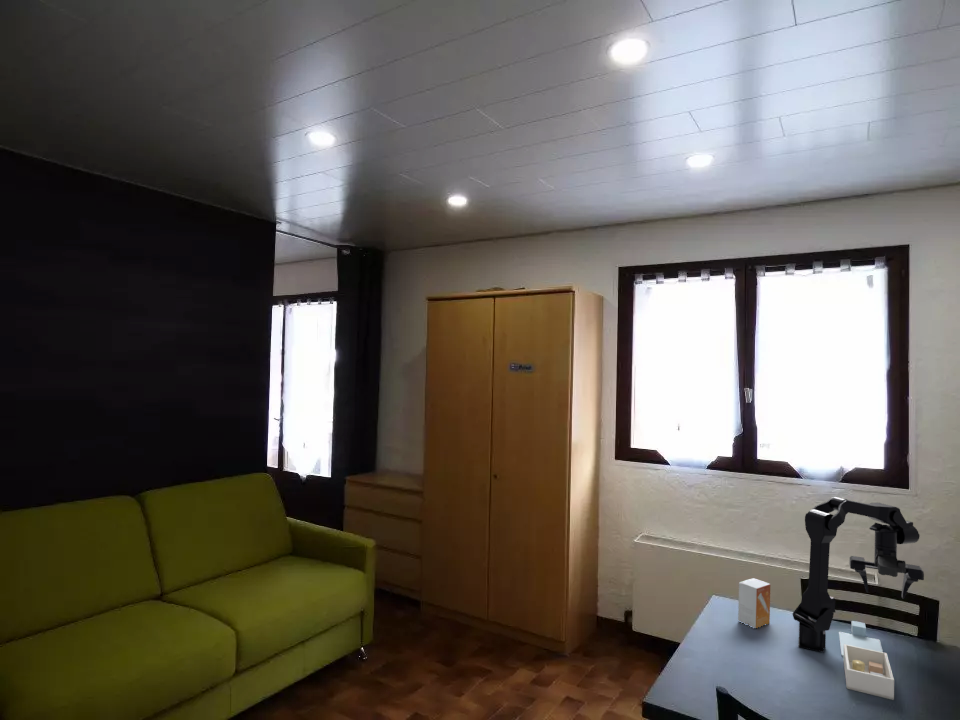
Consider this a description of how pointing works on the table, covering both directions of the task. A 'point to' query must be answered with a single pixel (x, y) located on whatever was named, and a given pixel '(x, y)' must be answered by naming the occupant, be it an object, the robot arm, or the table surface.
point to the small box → (754, 602)
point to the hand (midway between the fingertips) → (884, 595)
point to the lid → (858, 638)
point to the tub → (868, 671)
